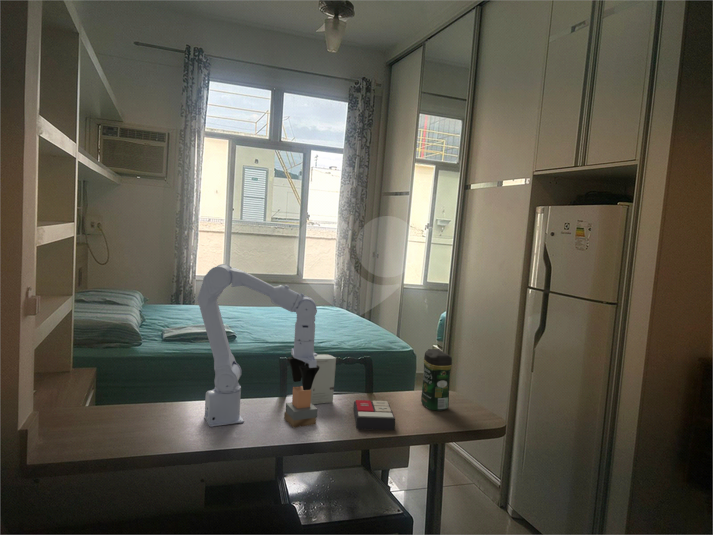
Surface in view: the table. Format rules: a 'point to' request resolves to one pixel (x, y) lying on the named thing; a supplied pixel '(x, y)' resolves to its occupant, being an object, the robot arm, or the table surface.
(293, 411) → the tower top slab
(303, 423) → the tower base slab
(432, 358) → the coffee jar
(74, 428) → the table surface
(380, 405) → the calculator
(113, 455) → the table surface
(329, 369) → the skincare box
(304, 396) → the terracotta block
